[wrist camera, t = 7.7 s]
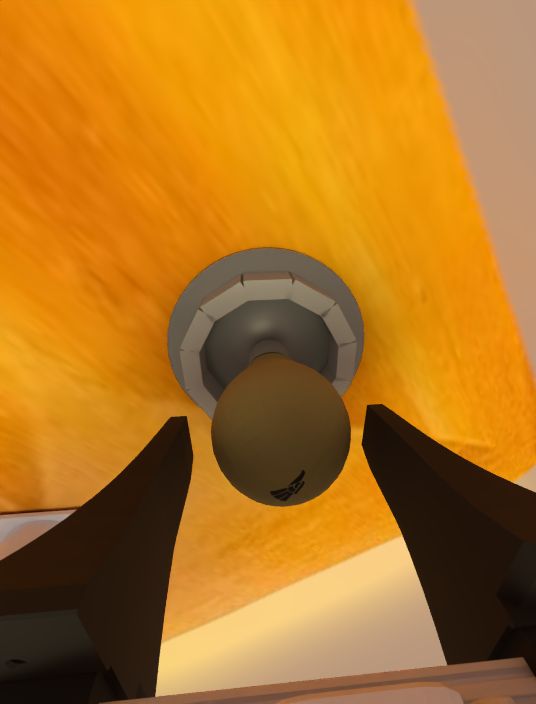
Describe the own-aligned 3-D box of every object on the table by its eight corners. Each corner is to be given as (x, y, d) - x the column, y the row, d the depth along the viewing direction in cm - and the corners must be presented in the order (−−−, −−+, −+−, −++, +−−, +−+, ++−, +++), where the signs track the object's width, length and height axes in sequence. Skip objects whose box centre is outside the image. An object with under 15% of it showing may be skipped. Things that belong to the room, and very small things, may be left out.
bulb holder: (351, 418, 22) (363, 442, 20) (184, 428, 22) (177, 454, 20) (372, 244, 17) (391, 250, 15) (152, 251, 17) (137, 258, 14)
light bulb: (295, 400, 21) (333, 550, 12) (213, 380, 20) (186, 529, 11) (327, 325, 19) (404, 439, 10) (237, 298, 17) (227, 399, 8)
